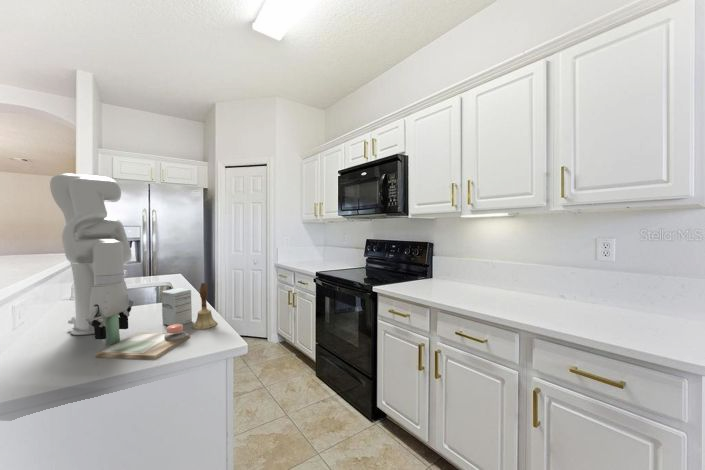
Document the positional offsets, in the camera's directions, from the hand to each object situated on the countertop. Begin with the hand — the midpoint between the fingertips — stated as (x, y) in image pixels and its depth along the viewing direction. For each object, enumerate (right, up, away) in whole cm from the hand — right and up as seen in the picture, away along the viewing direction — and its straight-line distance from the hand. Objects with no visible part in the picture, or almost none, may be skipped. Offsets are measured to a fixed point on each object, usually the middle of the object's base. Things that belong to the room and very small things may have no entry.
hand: (112, 333), depth 98 cm
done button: (+19, 0, +2) cm, 19 cm away
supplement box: (+10, -2, +19) cm, 21 cm away
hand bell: (+22, -2, +16) cm, 27 cm away
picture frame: (+13, -3, -3) cm, 13 cm away
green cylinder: (0, -3, 0) cm, 3 cm away
